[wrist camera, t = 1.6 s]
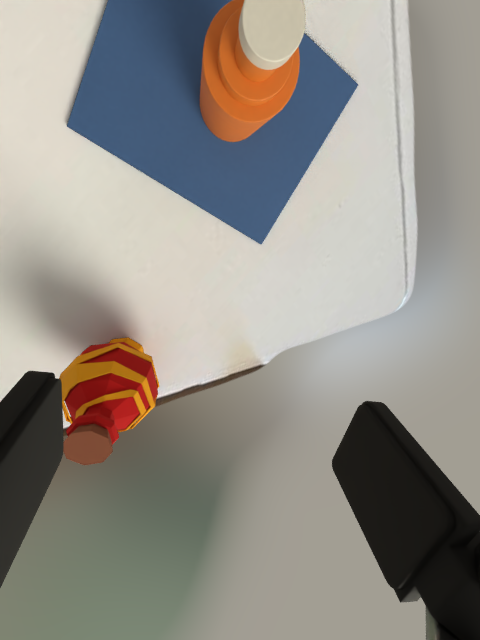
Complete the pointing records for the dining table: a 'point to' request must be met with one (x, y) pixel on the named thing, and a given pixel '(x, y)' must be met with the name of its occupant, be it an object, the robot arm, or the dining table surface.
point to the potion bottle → (105, 397)
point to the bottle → (250, 65)
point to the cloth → (199, 113)
